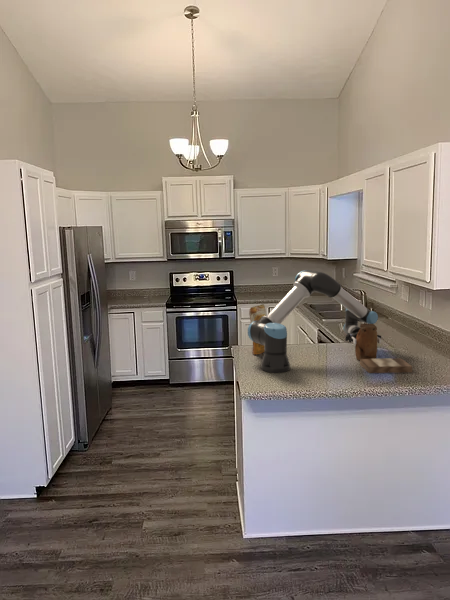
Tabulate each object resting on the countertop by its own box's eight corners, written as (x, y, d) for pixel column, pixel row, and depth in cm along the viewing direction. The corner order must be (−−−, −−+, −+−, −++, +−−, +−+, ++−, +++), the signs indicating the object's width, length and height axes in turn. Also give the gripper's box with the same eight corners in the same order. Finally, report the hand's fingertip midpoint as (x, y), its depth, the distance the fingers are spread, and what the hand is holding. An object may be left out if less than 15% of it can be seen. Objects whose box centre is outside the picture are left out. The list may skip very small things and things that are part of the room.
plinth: (368, 373, 239) (369, 366, 238) (359, 364, 254) (360, 358, 253) (412, 372, 239) (412, 365, 239) (400, 363, 254) (400, 357, 254)
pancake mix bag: (245, 354, 277) (245, 307, 273) (264, 347, 292) (264, 303, 287) (255, 356, 273) (254, 308, 269) (273, 349, 287) (273, 304, 283)
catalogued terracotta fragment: (372, 357, 267) (373, 322, 264) (377, 361, 259) (379, 325, 256) (353, 358, 266) (354, 323, 263) (358, 362, 258) (359, 326, 255)
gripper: (376, 338, 281) (390, 347, 260) (335, 339, 280) (345, 348, 259) (377, 326, 280) (390, 334, 259) (335, 327, 279) (345, 335, 258)
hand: (367, 341), depth 259 cm, fingers open, 13 cm apart
